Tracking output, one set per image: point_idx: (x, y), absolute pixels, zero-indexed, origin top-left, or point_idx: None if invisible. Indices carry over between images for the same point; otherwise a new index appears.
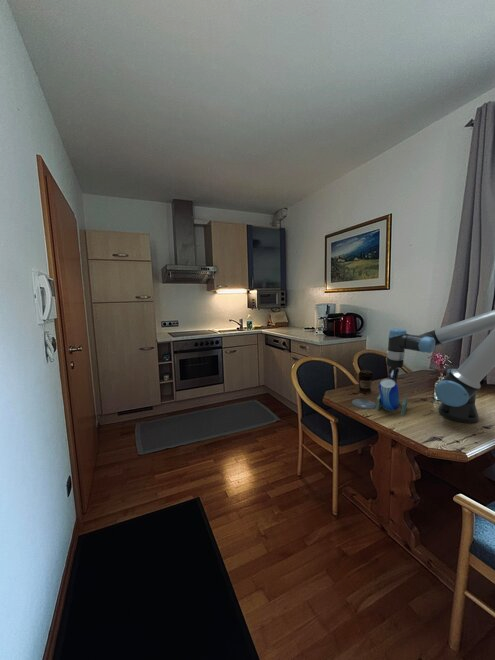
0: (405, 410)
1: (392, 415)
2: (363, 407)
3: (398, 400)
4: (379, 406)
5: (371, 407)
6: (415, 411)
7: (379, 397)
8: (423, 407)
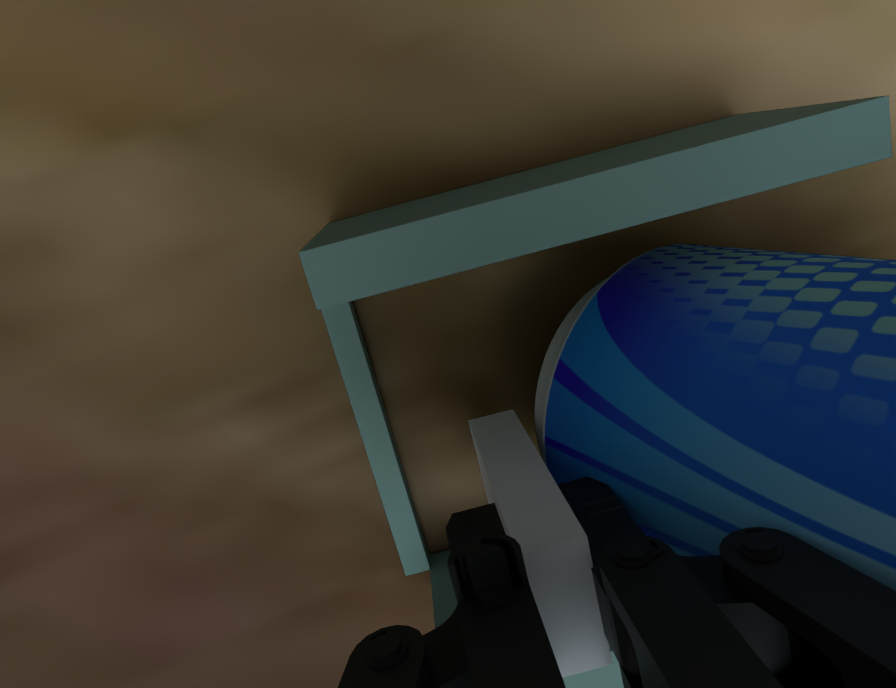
0: (555, 165)
1: (825, 250)
2: None
3: (881, 259)
4: None
5: None
6: (371, 53)
7: None
8: (39, 14)
